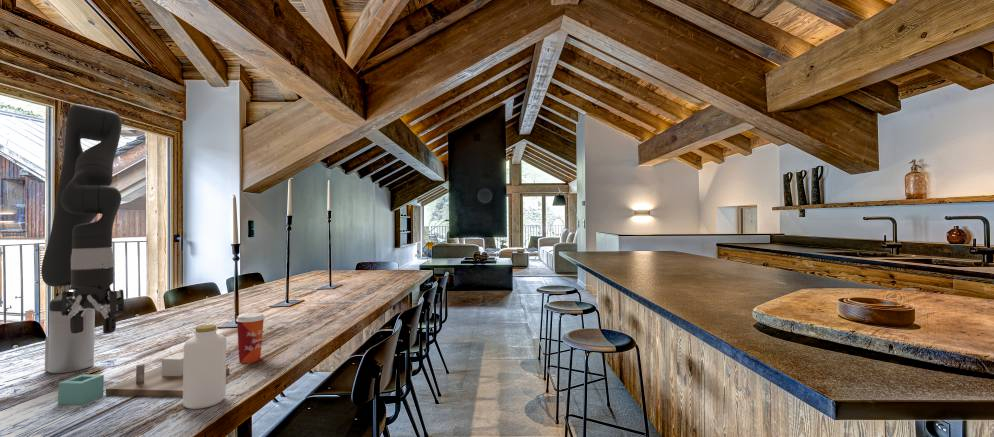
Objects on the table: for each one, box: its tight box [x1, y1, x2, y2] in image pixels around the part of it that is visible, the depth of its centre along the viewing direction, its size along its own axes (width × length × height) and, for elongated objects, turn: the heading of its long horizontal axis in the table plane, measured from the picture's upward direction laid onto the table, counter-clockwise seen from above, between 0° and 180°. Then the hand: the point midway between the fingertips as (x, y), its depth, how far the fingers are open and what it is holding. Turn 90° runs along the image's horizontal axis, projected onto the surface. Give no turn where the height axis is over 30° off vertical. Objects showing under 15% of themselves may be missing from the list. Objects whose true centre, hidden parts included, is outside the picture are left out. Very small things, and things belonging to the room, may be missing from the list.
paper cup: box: [235, 312, 266, 364], centre depth 129 cm, size 8×8×14 cm
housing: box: [161, 352, 184, 376], centre depth 113 cm, size 5×5×4 cm
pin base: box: [105, 363, 230, 398], centre depth 110 cm, size 20×16×6 cm
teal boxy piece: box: [57, 373, 105, 406], centre depth 99 cm, size 5×5×5 cm
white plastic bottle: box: [182, 324, 227, 410], centre depth 98 cm, size 8×8×18 cm
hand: (93, 332), depth 102 cm, fingers open, 8 cm apart
